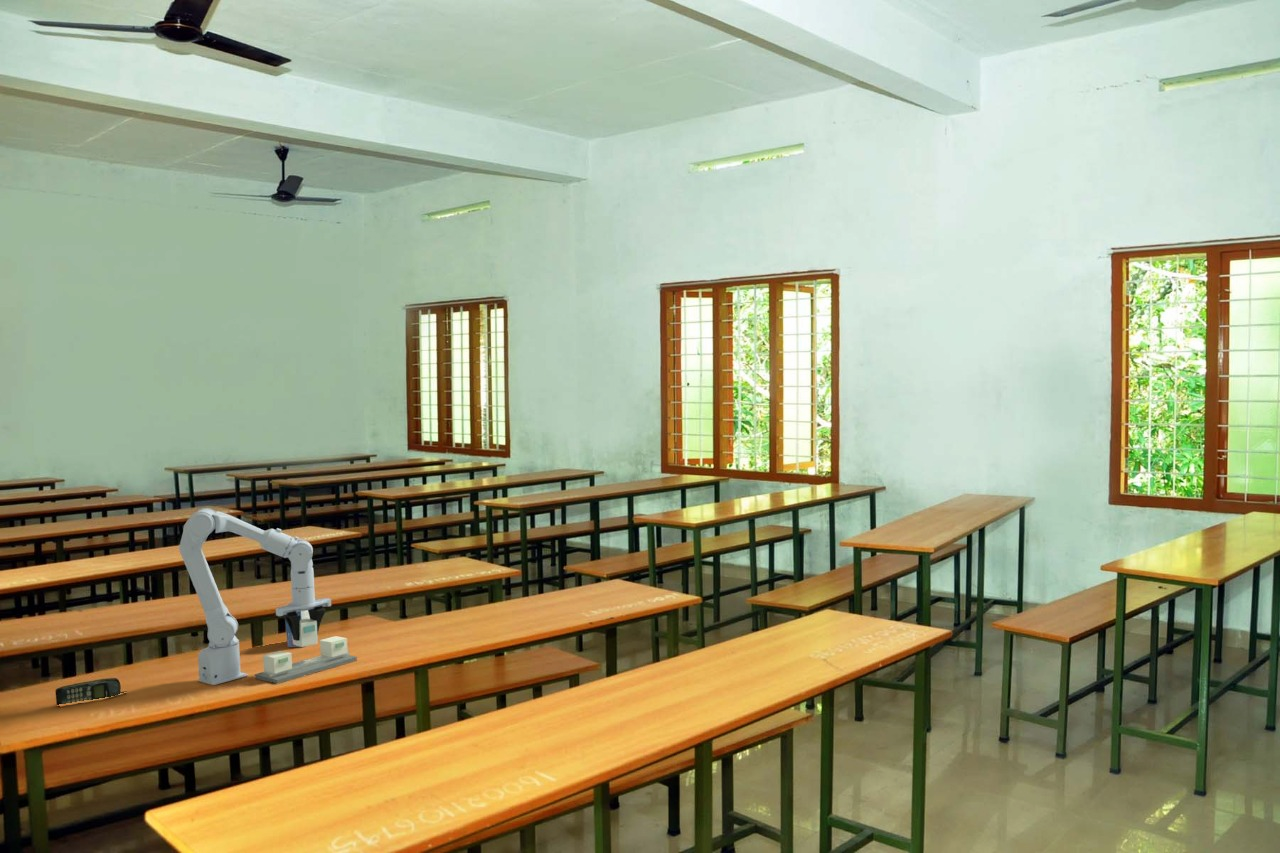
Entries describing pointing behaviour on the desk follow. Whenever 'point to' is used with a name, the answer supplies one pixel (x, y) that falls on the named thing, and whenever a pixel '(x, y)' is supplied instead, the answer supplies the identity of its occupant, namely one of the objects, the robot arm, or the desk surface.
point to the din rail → (304, 664)
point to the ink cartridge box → (289, 634)
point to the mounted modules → (284, 659)
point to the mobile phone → (88, 690)
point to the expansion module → (307, 633)
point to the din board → (308, 670)
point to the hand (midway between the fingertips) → (305, 637)
